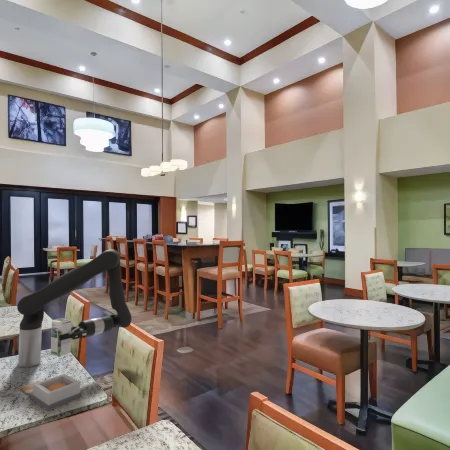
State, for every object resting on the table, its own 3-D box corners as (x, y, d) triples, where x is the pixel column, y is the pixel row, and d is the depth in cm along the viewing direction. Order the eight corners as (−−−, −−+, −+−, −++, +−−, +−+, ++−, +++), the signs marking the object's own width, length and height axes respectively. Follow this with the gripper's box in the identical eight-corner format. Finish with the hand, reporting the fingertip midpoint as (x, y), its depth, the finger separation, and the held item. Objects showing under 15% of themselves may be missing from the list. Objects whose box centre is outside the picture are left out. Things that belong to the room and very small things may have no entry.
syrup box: (50, 354, 139) (50, 320, 140) (62, 350, 144) (63, 317, 145) (58, 357, 137) (59, 322, 137) (71, 352, 142) (71, 318, 142)
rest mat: (18, 389, 133) (18, 387, 133) (39, 382, 139) (39, 380, 139) (27, 395, 128) (27, 393, 128) (48, 387, 134) (48, 386, 134)
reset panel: (27, 396, 127) (28, 382, 127) (61, 384, 137) (61, 371, 137) (48, 410, 117) (48, 395, 117) (82, 396, 128) (82, 382, 128)
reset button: (45, 392, 126) (45, 386, 126) (60, 387, 131) (60, 380, 131) (52, 397, 122) (53, 391, 122) (68, 391, 127) (68, 385, 127)
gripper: (83, 316, 156) (47, 324, 143) (100, 322, 148) (64, 330, 134) (82, 332, 156) (46, 341, 143) (100, 338, 148) (63, 349, 134)
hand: (55, 336), depth 139 cm, fingers closed on syrup box, 6 cm apart
